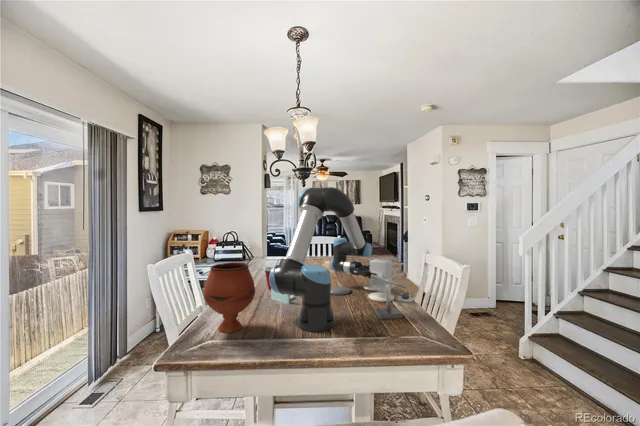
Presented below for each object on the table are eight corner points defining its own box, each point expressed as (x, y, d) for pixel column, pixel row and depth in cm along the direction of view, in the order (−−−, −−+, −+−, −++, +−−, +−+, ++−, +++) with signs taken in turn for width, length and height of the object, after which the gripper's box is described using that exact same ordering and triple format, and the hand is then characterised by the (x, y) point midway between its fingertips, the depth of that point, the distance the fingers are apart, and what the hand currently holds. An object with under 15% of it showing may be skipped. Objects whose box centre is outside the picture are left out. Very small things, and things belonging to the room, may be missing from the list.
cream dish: (372, 302, 150) (372, 300, 150) (365, 295, 163) (365, 292, 163) (397, 301, 152) (397, 299, 152) (389, 294, 165) (389, 291, 164)
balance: (365, 319, 129) (365, 276, 128) (361, 313, 136) (361, 272, 135) (416, 317, 131) (416, 274, 130) (409, 311, 138) (409, 271, 137)
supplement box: (392, 288, 159) (392, 259, 158) (386, 292, 151) (386, 262, 151) (376, 286, 164) (376, 258, 163) (369, 290, 156) (369, 260, 156)
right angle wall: (288, 304, 150) (288, 289, 150) (271, 300, 157) (271, 285, 157) (304, 298, 160) (304, 284, 159) (287, 294, 167) (287, 281, 167)
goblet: (260, 319, 130) (259, 260, 129) (248, 339, 111) (247, 270, 110) (215, 318, 131) (214, 260, 130) (196, 338, 111) (194, 270, 111)
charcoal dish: (328, 295, 162) (328, 293, 162) (325, 289, 175) (325, 286, 175) (352, 294, 164) (352, 292, 164) (347, 288, 176) (347, 286, 176)
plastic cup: (281, 291, 171) (281, 270, 171) (262, 291, 171) (262, 270, 171) (284, 286, 182) (284, 266, 182) (266, 286, 182) (265, 266, 182)
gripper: (365, 271, 178) (400, 277, 162) (340, 278, 162) (375, 286, 146) (365, 258, 178) (400, 263, 162) (340, 264, 162) (375, 270, 146)
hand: (388, 274), depth 154 cm, fingers closed on supplement box, 10 cm apart
